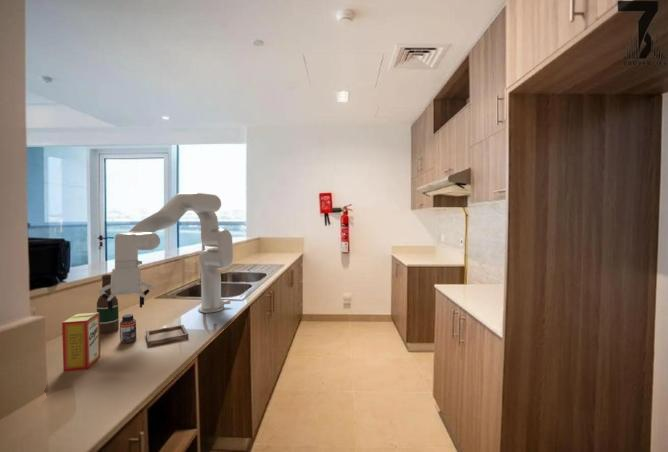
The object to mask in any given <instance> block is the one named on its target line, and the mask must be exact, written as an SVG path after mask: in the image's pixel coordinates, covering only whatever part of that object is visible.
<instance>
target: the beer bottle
mask: <svg viewBox="0 0 668 452" xmlns="http://www.w3.org/2000/svg"><path fill="white" fill-rule="evenodd" d="M101 280H102V281H101V282H102V283H101V288H103V287H105V286H107V285H109V284H111V274H103V275H102V276H101ZM104 292H105V293H106V294H107V295H108V296H109V295H110V294H111V288H109V289H107V290H105V291H104ZM112 300H113V311H110V309H108V301H107V300H106V299H105V298H103V297H102V295H101V294H100V296H99V297H98V299H97V301H96V312H99V316H100V335H107V334H112V333H115V332H116V331H118V330H120V322H119V321H120V320H119V319H120V318H119V315H120V314H119V300H118V298H117V295H115V296H114V297H113V298H112Z"/></svg>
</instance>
